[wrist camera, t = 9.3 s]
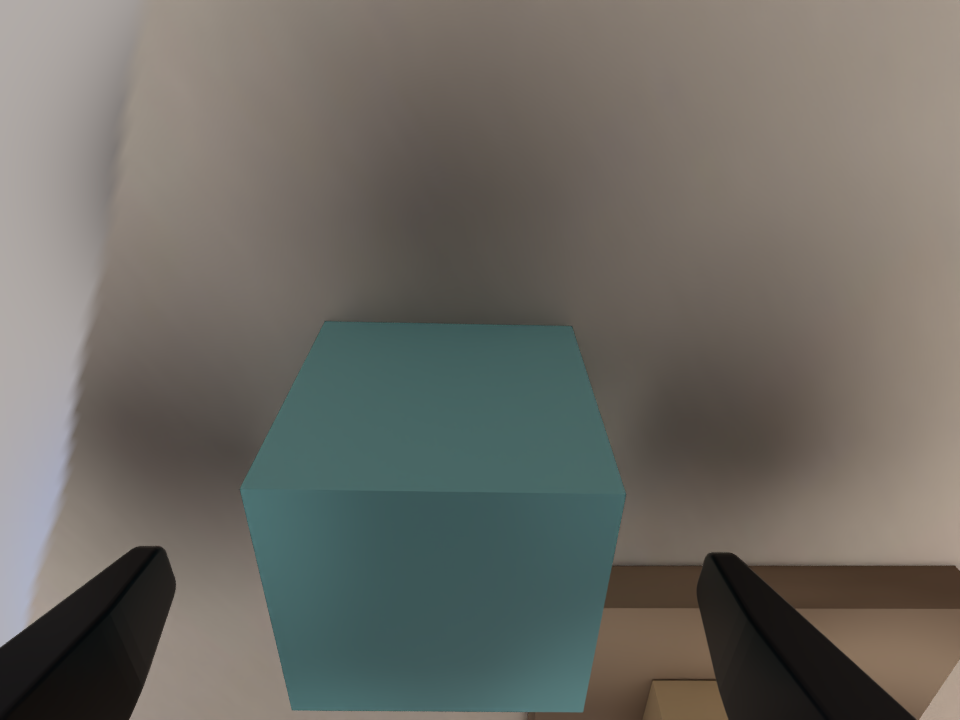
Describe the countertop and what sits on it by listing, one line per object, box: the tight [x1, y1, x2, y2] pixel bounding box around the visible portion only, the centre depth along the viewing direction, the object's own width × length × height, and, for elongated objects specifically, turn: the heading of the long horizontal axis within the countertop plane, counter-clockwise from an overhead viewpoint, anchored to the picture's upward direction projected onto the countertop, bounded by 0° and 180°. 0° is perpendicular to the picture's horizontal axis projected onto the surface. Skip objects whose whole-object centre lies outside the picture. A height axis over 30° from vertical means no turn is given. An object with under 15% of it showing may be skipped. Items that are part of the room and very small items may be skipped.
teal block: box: [240, 321, 626, 712], centre depth 11 cm, size 5×5×5 cm
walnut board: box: [528, 566, 960, 720], centre depth 18 cm, size 11×11×2 cm
